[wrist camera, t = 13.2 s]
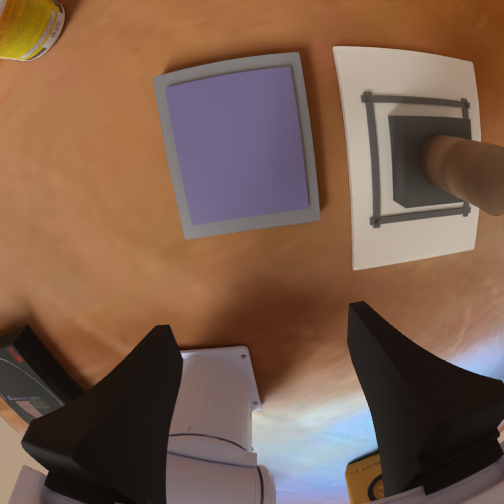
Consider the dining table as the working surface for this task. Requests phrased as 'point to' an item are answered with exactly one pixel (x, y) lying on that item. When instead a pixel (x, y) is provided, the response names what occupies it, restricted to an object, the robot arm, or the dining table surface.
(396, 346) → the robot arm
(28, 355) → the portable cd player
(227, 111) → the ink pad
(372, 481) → the coffee package
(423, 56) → the marked board
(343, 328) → the dining table surface
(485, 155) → the stamp
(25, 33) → the supplement bottle
